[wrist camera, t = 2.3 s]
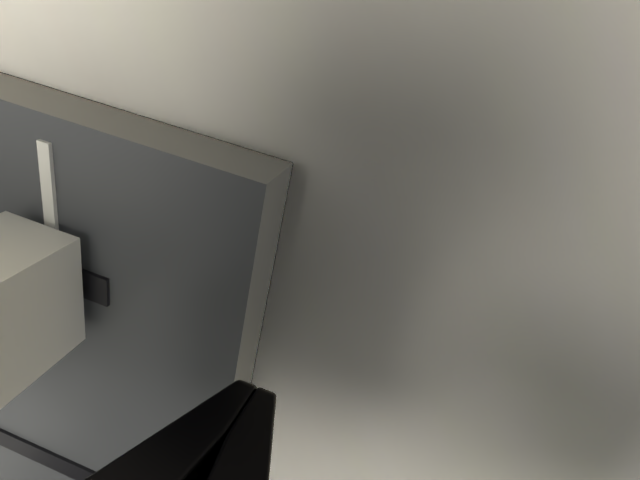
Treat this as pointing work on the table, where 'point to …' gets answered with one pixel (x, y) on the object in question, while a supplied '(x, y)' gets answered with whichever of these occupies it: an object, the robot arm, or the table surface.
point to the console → (135, 272)
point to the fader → (36, 301)
